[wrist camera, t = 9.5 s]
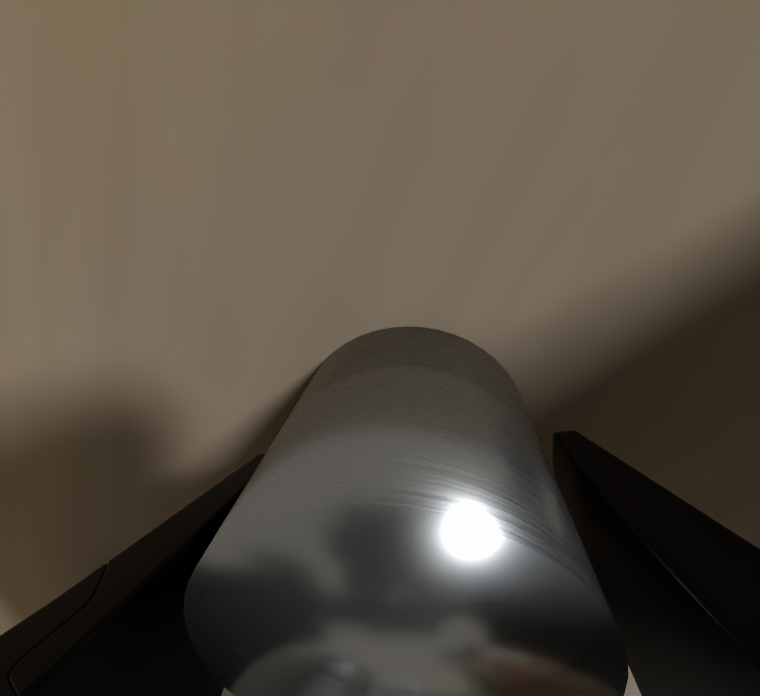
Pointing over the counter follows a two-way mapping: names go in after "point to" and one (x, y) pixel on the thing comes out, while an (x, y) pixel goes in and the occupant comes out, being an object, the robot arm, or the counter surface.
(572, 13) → the counter surface
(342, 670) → the steel spacer
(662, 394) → the counter surface
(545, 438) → the counter surface
